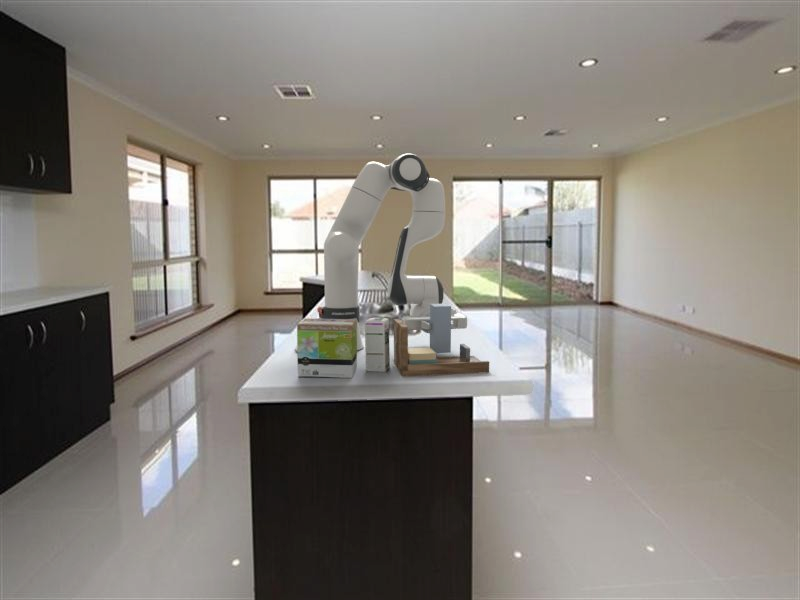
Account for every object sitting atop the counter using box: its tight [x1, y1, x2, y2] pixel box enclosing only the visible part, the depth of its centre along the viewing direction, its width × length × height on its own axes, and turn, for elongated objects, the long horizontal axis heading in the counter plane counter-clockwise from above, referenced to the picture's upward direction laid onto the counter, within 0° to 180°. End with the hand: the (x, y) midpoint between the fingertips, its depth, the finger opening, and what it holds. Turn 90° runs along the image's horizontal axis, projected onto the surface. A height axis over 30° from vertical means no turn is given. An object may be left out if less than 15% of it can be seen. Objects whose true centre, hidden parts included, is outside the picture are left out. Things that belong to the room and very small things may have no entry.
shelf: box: [393, 318, 490, 377], centre depth 152 cm, size 14×24×14 cm, turn 100°
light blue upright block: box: [429, 303, 452, 354], centre depth 161 cm, size 5×6×14 cm
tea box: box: [296, 317, 358, 379], centre depth 147 cm, size 15×10×15 cm, turn 87°
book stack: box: [408, 347, 438, 364], centre depth 152 cm, size 8×8×4 cm
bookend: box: [459, 343, 481, 362], centre depth 153 cm, size 6×5×5 cm
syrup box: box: [364, 317, 391, 373], centre depth 151 cm, size 6×6×14 cm
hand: (440, 326), depth 161 cm, fingers closed on light blue upright block, 5 cm apart
